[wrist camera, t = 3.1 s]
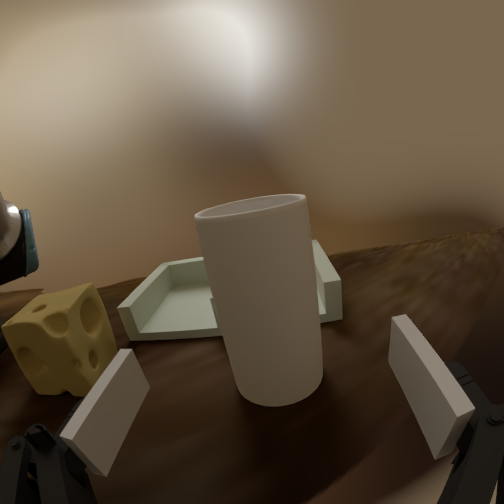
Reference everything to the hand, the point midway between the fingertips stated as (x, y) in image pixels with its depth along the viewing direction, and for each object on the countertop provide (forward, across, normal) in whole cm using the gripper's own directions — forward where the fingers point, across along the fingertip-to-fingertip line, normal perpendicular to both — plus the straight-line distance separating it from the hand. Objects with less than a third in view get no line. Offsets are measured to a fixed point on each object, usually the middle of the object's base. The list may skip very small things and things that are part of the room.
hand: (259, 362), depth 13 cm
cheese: (+10, -25, -10) cm, 29 cm away
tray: (+27, -6, -10) cm, 30 cm away
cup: (+10, 0, -10) cm, 14 cm away
